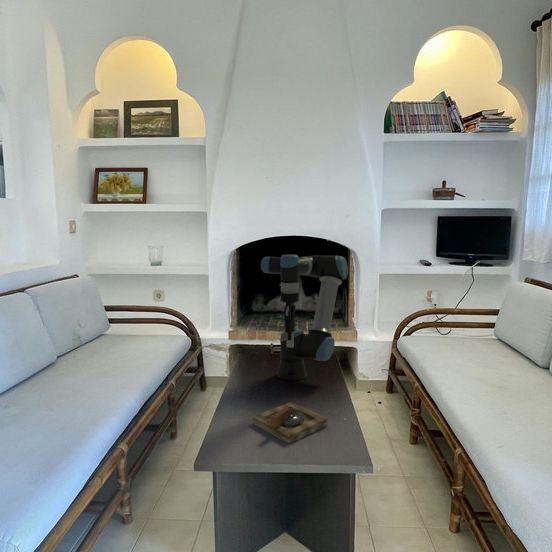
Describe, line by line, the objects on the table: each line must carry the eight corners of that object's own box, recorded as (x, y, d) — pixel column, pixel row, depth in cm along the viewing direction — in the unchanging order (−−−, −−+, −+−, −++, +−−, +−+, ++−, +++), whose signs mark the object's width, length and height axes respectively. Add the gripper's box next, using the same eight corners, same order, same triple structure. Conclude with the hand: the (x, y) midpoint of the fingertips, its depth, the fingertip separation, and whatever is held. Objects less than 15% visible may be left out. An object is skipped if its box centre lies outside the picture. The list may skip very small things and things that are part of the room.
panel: (291, 408, 171) (291, 401, 171) (327, 425, 156) (327, 418, 156) (252, 423, 158) (252, 415, 158) (288, 443, 143) (288, 435, 143)
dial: (285, 410, 164) (285, 398, 164) (309, 418, 158) (309, 404, 158) (260, 427, 151) (260, 413, 150) (285, 435, 145) (285, 421, 144)
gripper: (284, 289, 180) (284, 342, 183) (277, 294, 167) (277, 351, 170) (301, 289, 178) (301, 343, 181) (295, 295, 165) (295, 352, 168)
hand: (290, 346), depth 176 cm, fingers closed
